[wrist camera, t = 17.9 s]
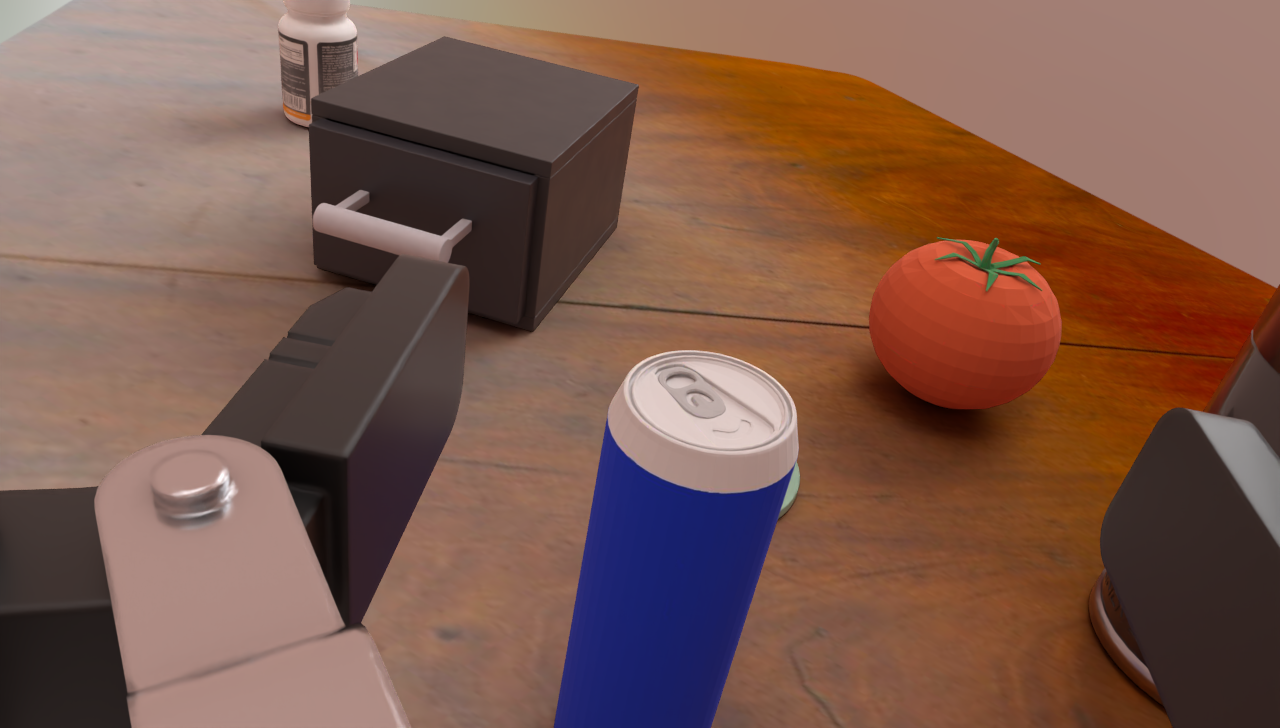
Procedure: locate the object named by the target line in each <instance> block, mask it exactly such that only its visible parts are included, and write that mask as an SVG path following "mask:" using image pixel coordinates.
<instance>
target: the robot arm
mask: <svg viewBox="0 0 1280 728" xmlns="http://www.w3.org/2000/svg"><path fill="white" fill-rule="evenodd" d="M468 301H469V272H468V269H467V267H466V266H461V265H456V264H451V263H446V262H441V261H436V260H431V259H426V258H420V257H415V256H410V255H405V254H402V255H400V256H399V257H398V258H397V259H396V260H395V262H394V263H393V264H392V266H391V267H390V268H389V270H388V271H387V272H386V274H385V275H384V276H383V278H382V279H381V280H380V282H379V283H378V284H377V286H376V287H375V288H374V290H373V291H372V292H369V291H364V290H359V289H354V288H349V287H346V288H344V289H342V290H340V291H338V292H337V293H335V294H333V295H331V296H329V297H327V298H325V299H323V300H321V301H319V302H317V303H315V304H313V305H311V306H310V307H309V308H308V309H307V310H306V311H305V312H304V314H303V315H302V316H301V317H300V318H299V320H298V321H297V322H296V323H295V324H294V326H293V327H292V328H291V329H290V330H289V331H288V336H287V338H285V337H283V339H282V340H281V341H280V342H279V343H278V345H277V346H276V347H275V348H274V349H273V350H272V352H271V353H270V357H269V360H266V359H265V360H264V361H263V362H262V363H261V365H260V366H259V367H258V368H257V369H256V371H255V372H254V373H253V374H252V375H251V377H250V378H249V379H248V380H247V381H246V382H245V384H244V385H243V386H242V387H241V388H240V390H239V391H238V392H237V393H236V394H235V396H234V397H233V398H232V399H231V400H230V401H229V403H228V404H227V405H226V406H225V407H224V409H223V410H222V411H221V412H220V413H219V415H218V416H217V417H216V418H215V419H214V420H213V422H212V423H211V424H210V425H209V426H208V428H207V429H206V430H205V431H204V432H203V434H202V435H195V436H186V437H179V438H174V439H170V440H166V441H162V442H159V443H156V444H153V445H150V446H147V447H145V448H143V449H141V450H139V451H137V452H135V453H133V454H131V455H130V456H128V457H126V458H125V459H123V460H122V461H120V462H119V463H118V464H117V465H116V466H114V467H113V468H112V469H111V470H110V471H109V472H108V473H107V475H106V476H105V477H104V478H103V479H102V481H101V483H100V485H99V486H97V487H86V488H68V489H39V490H9V491H0V728H411V726H410V723H409V721H408V719H407V716H406V714H405V712H404V709H403V707H402V705H401V702H400V700H399V698H398V695H397V693H396V691H395V688H394V686H393V684H392V681H391V679H390V677H389V674H388V672H387V670H386V667H385V665H384V663H383V660H382V658H381V656H380V653H379V651H378V649H377V647H376V645H375V642H374V640H373V639H372V637H371V635H370V633H369V632H368V630H367V629H366V628H365V626H363V625H362V624H361V621H362V619H363V617H364V615H365V613H366V611H367V609H368V607H369V604H370V602H371V600H372V598H373V596H374V594H375V592H376V590H377V588H378V585H379V583H380V581H381V579H382V577H383V575H384V573H385V571H386V568H387V566H388V564H389V562H390V560H391V558H392V556H393V554H394V551H395V549H396V547H397V545H398V543H399V541H400V539H401V537H402V534H403V532H404V530H405V528H406V526H407V524H408V522H409V520H410V518H411V515H412V513H413V511H414V509H415V507H416V505H417V503H418V501H419V498H420V496H421V494H422V492H423V490H424V488H425V486H426V484H427V481H428V479H429V477H430V475H431V473H432V471H433V469H434V467H435V465H436V462H437V460H438V458H439V456H440V454H441V452H442V450H443V448H444V445H445V443H446V441H447V439H448V437H449V435H450V433H451V430H452V428H453V425H454V422H455V419H456V415H457V411H458V407H459V403H460V398H461V392H462V385H463V375H464V360H465V345H466V330H467V315H468ZM1100 548H1101V556H1102V560H1103V563H1104V566H1105V569H1104V570H1103V572H1102V573H1101V575H1100V577H1099V578H1098V580H1097V582H1096V583H1095V585H1094V587H1093V589H1092V591H1091V594H1090V597H1089V612H1090V618H1091V621H1092V624H1093V627H1094V630H1095V632H1096V634H1097V636H1098V638H1099V640H1100V642H1101V644H1102V645H1103V647H1104V648H1105V650H1106V651H1107V653H1108V654H1109V655H1110V657H1111V658H1112V659H1113V661H1114V662H1115V663H1116V664H1117V665H1118V667H1119V668H1120V669H1121V670H1122V671H1123V672H1124V673H1125V674H1126V675H1127V676H1128V677H1129V678H1130V679H1131V680H1132V681H1133V682H1134V683H1135V684H1136V685H1137V686H1138V687H1140V688H1141V689H1142V690H1143V691H1144V692H1146V693H1147V694H1148V695H1149V696H1150V697H1152V698H1153V699H1155V700H1156V701H1157V702H1159V703H1160V704H1161V705H1163V706H1164V707H1165V710H1166V712H1167V714H1168V717H1169V719H1170V721H1171V724H1172V726H1173V728H1280V285H1279V286H1278V288H1277V290H1276V291H1275V293H1274V295H1273V296H1272V298H1271V300H1270V301H1269V303H1268V305H1267V306H1266V308H1265V309H1264V311H1263V313H1262V314H1261V316H1260V318H1259V319H1258V321H1257V323H1256V324H1255V326H1254V328H1253V330H1252V331H1251V333H1250V335H1249V336H1248V338H1247V340H1246V341H1245V343H1244V345H1243V346H1242V348H1241V350H1240V351H1239V353H1238V354H1237V356H1236V358H1235V359H1234V361H1233V363H1232V364H1231V366H1230V368H1229V369H1228V371H1227V373H1226V374H1225V376H1224V378H1223V379H1222V381H1221V382H1220V384H1219V386H1218V387H1217V389H1216V391H1215V392H1214V394H1213V396H1212V397H1211V399H1210V401H1209V402H1208V404H1207V406H1206V407H1205V409H1204V410H1203V412H1200V411H1195V410H1190V409H1185V408H1174V409H1171V410H1170V411H1168V412H1167V413H1165V414H1164V415H1163V416H1162V417H1161V418H1160V420H1159V421H1158V423H1157V424H1156V426H1155V427H1154V429H1153V431H1152V432H1151V434H1150V436H1149V438H1148V439H1147V441H1146V443H1145V445H1144V446H1143V448H1142V450H1141V452H1140V453H1139V455H1138V457H1137V459H1136V460H1135V462H1134V464H1133V465H1132V467H1131V469H1130V471H1129V472H1128V474H1127V476H1126V478H1125V479H1124V481H1123V483H1122V485H1121V486H1120V488H1119V490H1118V492H1117V493H1116V495H1115V497H1114V499H1113V500H1112V502H1111V504H1110V505H1109V507H1108V509H1107V511H1106V514H1105V517H1104V520H1103V524H1102V529H1101V537H1100Z"/></svg>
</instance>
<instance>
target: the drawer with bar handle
mask: <svg viewBox="0 0 1280 728" xmlns="http://www.w3.org/2000/svg"><path fill="white" fill-rule="evenodd" d="M309 145H310V171H311V197H312V223H313V249H314V264H315V265H318V266H321V267H325V268H328V269H331V270H335V271H338V272H342V273H345V274H348V275H352V276H355V277H358V278H362V279H365V280H369V281H372V282H375V283H379V282H380V280H381V279H382V278H383V276H384V275H385V274H386V272H387V271H388V270H389V268H390V267H391V266H392V264H393V263H394V262H395V260H396V259H397V258H398V257H399V256H400V255H402V254H405V255H410V256H415V257H420V258H426V259H431V260H436V261H441V262H446V263H451V264H456V265H461V266H466V267H467V269H468V272H469V301H468V310H470V311H473V312H476V313H480V314H483V315H486V316H490V317H493V318H497V319H500V320H503V321H507V322H510V323H513V324H517V323H518V322H519V321H520V320H521V318H522V317H523V316H524V315H525V305H526V296H527V286H528V276H529V267H530V257H531V247H532V238H533V228H534V218H535V209H536V199H537V189H538V180H539V177H536V176H534V175H535V174H532V173H528V172H524V171H521V170H517V169H513V168H510V167H506V166H502V165H499V164H495V163H491V162H487V161H484V160H480V159H476V158H473V157H469V156H465V155H461V154H458V153H454V152H450V151H447V150H443V149H439V148H435V147H432V146H428V145H424V144H421V143H417V142H413V141H409V140H406V139H402V138H398V137H395V136H391V135H387V134H383V133H380V132H376V131H372V130H369V129H365V128H361V127H358V126H354V125H350V124H349V126H347V125H344V124H340V123H336V122H332V121H329V120H325V119H319V120H317V121H315V122H313V123H311V124H309Z"/></svg>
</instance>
